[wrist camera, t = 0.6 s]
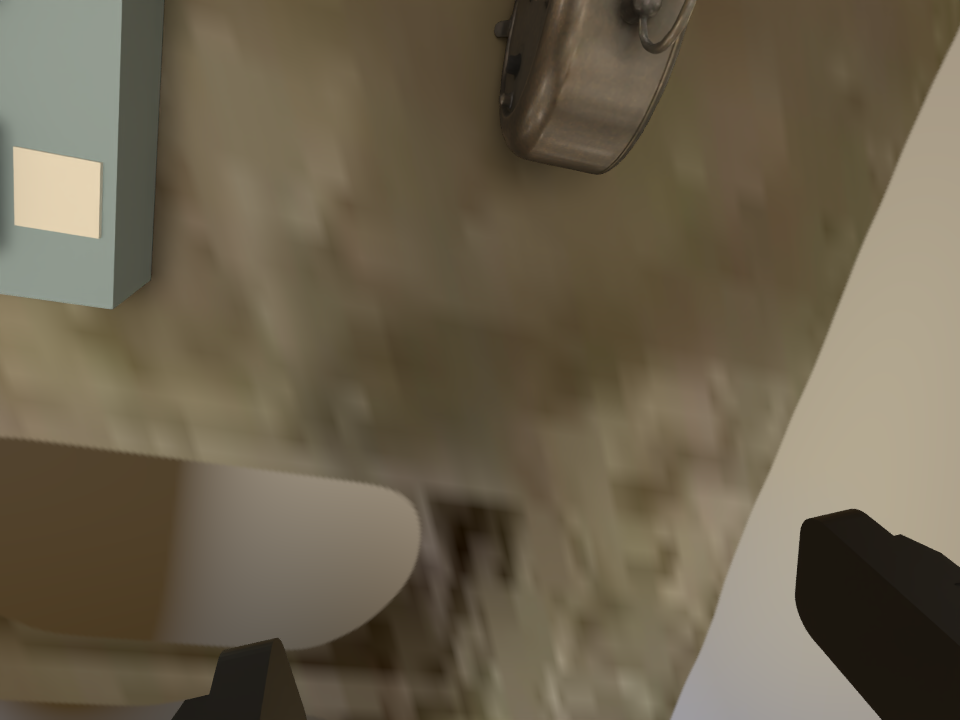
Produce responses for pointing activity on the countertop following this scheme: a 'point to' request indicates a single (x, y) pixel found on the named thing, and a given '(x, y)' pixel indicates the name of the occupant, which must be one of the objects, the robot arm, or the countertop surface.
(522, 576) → the countertop surface
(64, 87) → the switch box
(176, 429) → the countertop surface
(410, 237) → the countertop surface
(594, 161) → the alarm clock
